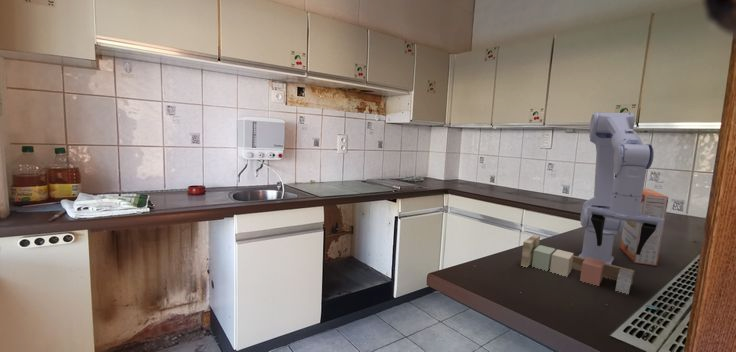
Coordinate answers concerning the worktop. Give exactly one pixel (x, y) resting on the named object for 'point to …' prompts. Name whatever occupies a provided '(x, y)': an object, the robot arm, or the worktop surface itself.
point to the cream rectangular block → (561, 262)
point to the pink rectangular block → (592, 271)
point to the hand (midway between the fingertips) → (618, 249)
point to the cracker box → (631, 231)
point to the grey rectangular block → (624, 281)
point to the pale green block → (542, 257)
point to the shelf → (608, 272)
